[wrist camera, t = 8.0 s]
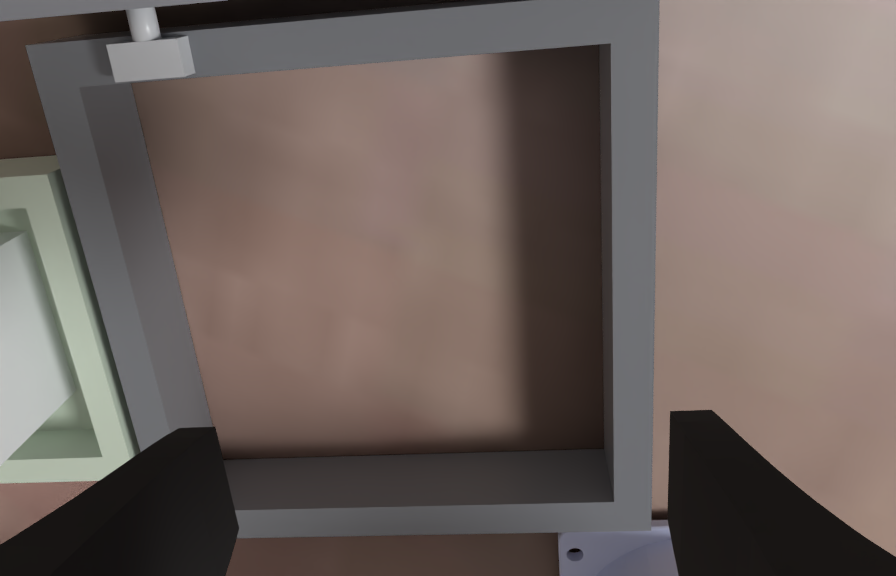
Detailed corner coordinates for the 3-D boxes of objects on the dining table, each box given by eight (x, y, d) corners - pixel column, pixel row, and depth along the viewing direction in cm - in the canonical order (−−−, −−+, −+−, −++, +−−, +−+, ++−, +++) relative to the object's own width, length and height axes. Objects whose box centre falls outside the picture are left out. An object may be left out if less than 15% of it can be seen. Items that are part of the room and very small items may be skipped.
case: (637, 475, 24) (667, 599, 19) (197, 486, 25) (127, 603, 21) (641, -81, 18) (686, -93, 13) (65, -24, 19) (-72, -18, 15)
